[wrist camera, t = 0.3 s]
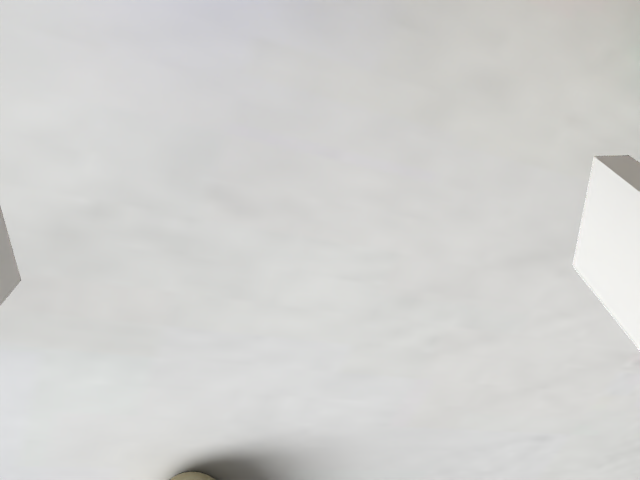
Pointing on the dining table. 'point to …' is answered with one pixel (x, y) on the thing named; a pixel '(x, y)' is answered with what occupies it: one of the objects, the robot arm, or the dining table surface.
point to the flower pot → (192, 476)
